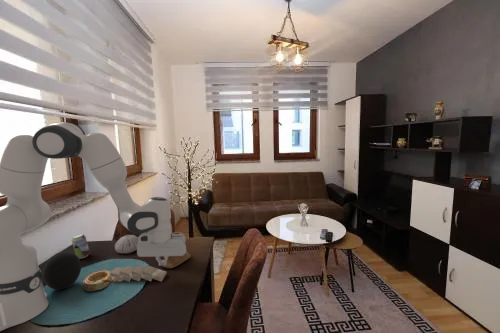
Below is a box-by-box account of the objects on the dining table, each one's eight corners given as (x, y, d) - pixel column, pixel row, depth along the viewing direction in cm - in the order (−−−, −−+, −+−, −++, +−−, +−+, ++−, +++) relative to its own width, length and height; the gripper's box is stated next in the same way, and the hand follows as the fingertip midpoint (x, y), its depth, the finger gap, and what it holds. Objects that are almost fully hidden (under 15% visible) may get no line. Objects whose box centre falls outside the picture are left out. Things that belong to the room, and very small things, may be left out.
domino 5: (161, 281, 103) (141, 274, 103) (165, 275, 108) (146, 268, 108) (162, 278, 103) (142, 271, 103) (166, 271, 108) (147, 265, 108)
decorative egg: (52, 282, 104) (48, 249, 102) (86, 276, 108) (83, 244, 107) (39, 299, 93) (34, 262, 91) (77, 292, 97) (73, 256, 95)
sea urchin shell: (146, 245, 141) (145, 231, 140) (131, 256, 127) (130, 241, 126) (125, 244, 143) (124, 230, 142) (109, 254, 129) (107, 240, 128)
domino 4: (150, 281, 104) (131, 274, 104) (155, 275, 109) (136, 268, 109) (152, 278, 103) (132, 271, 103) (156, 271, 108) (137, 265, 108)
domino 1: (129, 281, 104) (109, 276, 104) (135, 275, 109) (116, 269, 109) (130, 278, 104) (110, 272, 104) (136, 271, 109) (116, 266, 108)
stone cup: (173, 273, 110) (171, 241, 108) (156, 266, 116) (154, 236, 115) (197, 259, 123) (196, 230, 121) (181, 253, 129) (179, 226, 127)
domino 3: (139, 281, 104) (119, 274, 103) (144, 274, 109) (125, 268, 108) (140, 277, 104) (120, 271, 103) (145, 271, 108) (126, 265, 108)
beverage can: (88, 258, 125) (86, 236, 124) (71, 261, 123) (69, 238, 121) (91, 253, 131) (89, 231, 130) (75, 255, 128) (73, 234, 127)
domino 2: (122, 282, 104) (102, 282, 104) (128, 276, 109) (109, 276, 109) (122, 279, 104) (101, 279, 104) (128, 272, 109) (109, 272, 109)
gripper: (187, 231, 107) (188, 260, 109) (140, 232, 107) (142, 261, 108) (183, 236, 101) (184, 268, 102) (134, 237, 101) (136, 269, 102)
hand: (162, 265), depth 105 cm, fingers closed
